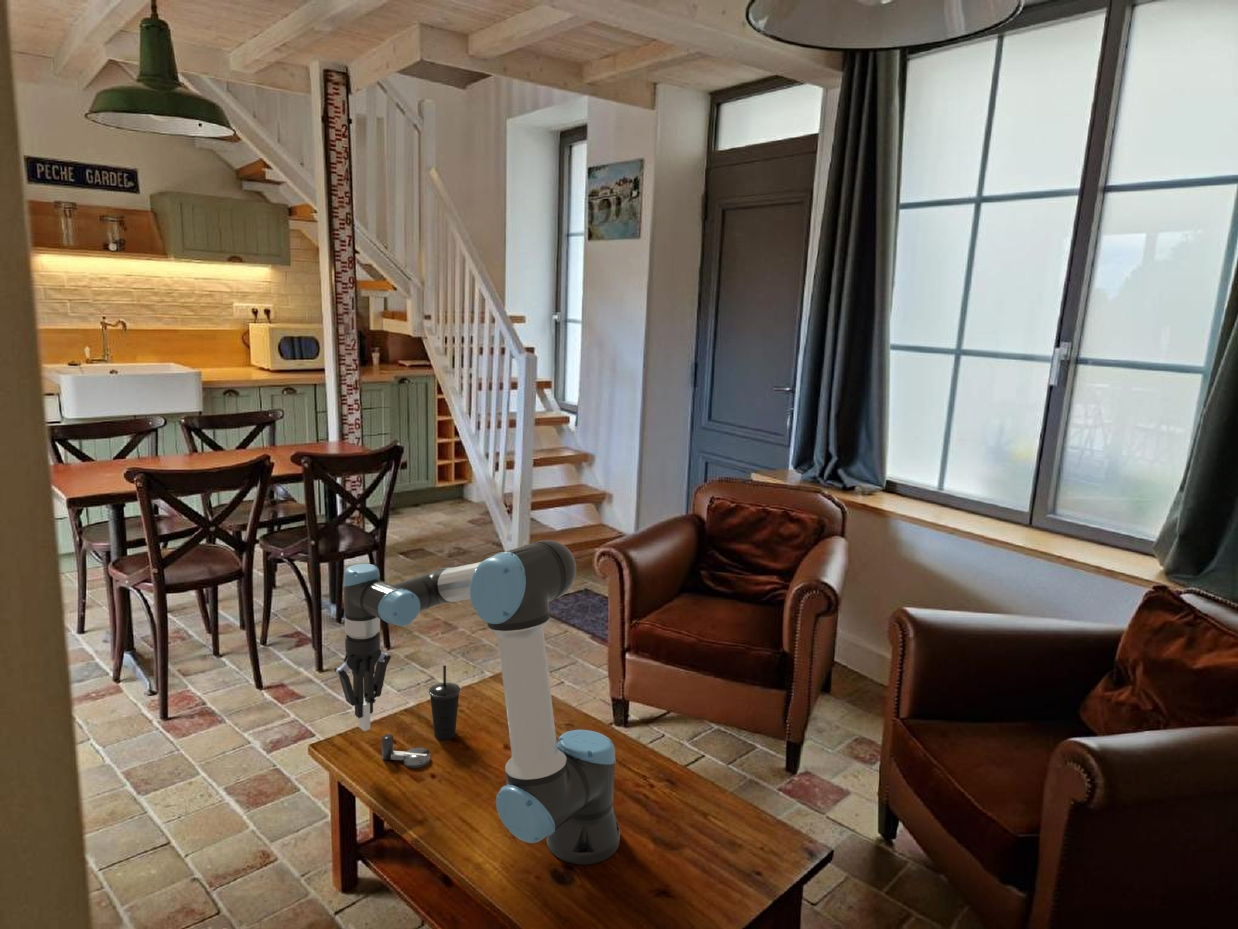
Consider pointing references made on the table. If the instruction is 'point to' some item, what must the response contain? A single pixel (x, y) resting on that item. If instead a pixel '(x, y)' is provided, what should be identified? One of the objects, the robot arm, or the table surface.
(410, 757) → the crank
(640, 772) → the table surface
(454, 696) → the drinking cup
